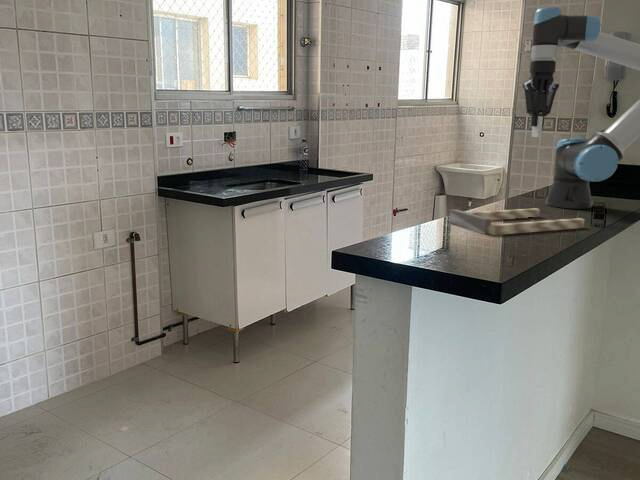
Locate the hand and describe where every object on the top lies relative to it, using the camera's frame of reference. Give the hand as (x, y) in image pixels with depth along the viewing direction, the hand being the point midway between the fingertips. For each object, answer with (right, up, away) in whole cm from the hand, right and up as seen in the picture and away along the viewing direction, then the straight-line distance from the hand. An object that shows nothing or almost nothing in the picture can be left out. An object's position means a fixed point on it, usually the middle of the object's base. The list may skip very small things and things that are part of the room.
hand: (536, 136), depth 193 cm
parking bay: (-12, -29, -18) cm, 36 cm away
